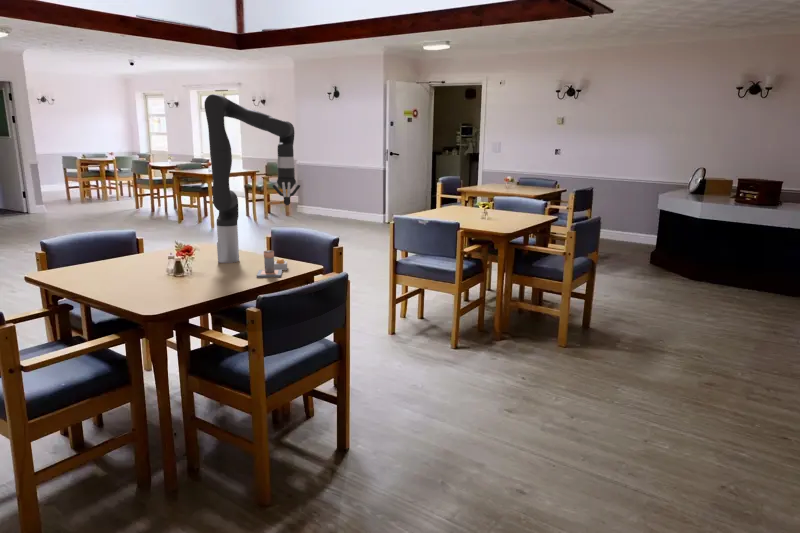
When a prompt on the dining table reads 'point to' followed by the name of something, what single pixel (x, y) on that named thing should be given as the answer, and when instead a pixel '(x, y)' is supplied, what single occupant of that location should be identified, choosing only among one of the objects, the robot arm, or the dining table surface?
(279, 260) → the button
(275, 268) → the button housing
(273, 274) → the picture board
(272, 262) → the grey upright block
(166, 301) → the dining table surface
